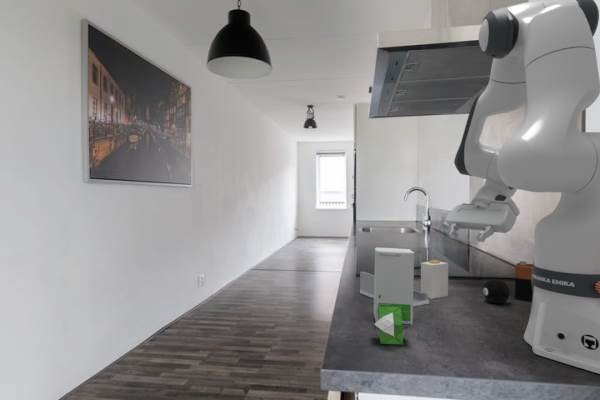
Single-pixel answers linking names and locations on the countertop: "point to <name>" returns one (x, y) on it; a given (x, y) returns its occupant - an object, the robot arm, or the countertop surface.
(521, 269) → the battery
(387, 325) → the geometric puzzle
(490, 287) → the billiard ball
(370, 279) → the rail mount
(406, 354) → the countertop surface
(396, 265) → the skincare box
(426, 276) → the block
